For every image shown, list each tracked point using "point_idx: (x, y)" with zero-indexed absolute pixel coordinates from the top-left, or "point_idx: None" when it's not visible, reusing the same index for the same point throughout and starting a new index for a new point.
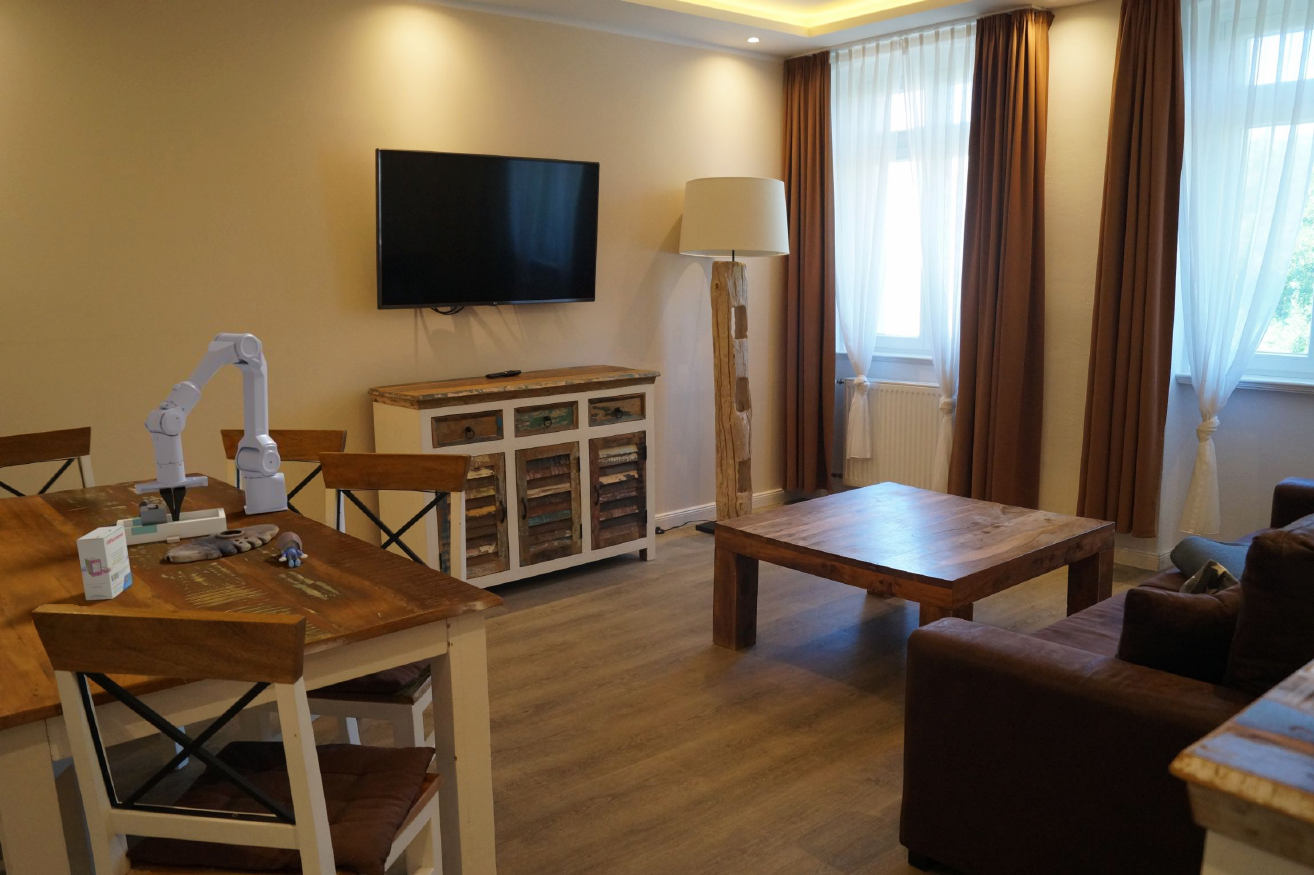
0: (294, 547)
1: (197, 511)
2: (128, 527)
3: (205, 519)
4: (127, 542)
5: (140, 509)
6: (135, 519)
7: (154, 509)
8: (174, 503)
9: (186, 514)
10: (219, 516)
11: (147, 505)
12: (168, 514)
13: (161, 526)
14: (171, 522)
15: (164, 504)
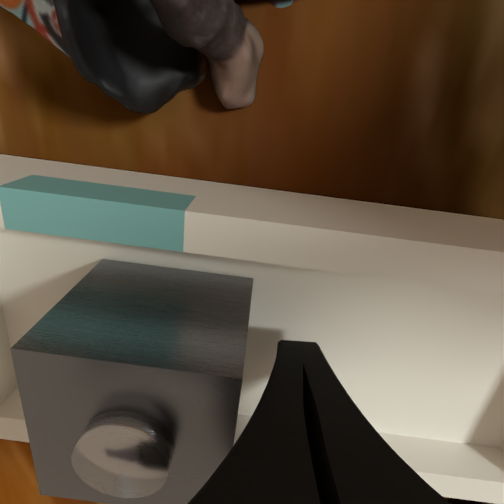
0: None
1: (491, 275)
2: (13, 231)
3: (434, 489)
4: None
5: (30, 445)
6: (28, 230)
7: (143, 500)
8: (317, 437)
9: (397, 275)
10: None
11: (73, 462)
12: (272, 229)
13: None
14: (278, 272)
15: (230, 400)
